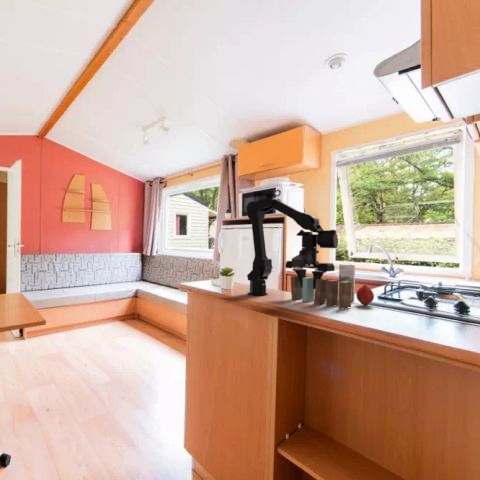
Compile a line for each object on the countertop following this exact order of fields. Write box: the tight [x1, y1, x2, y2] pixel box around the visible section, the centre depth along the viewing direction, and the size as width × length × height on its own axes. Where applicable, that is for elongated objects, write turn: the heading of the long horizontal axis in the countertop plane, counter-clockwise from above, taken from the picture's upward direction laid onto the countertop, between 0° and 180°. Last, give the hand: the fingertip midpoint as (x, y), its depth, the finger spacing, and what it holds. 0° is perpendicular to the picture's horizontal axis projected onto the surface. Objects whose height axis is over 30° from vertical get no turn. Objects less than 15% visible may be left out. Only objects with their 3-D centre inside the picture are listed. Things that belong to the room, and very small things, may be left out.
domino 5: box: [338, 281, 352, 310], centre depth 104 cm, size 2×5×9 cm, turn 133°
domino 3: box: [313, 277, 329, 305], centre depth 111 cm, size 2×5×9 cm, turn 133°
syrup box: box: [338, 262, 356, 302], centre depth 120 cm, size 6×6×14 cm
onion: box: [356, 283, 375, 307], centre depth 108 cm, size 6×6×8 cm
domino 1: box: [290, 275, 303, 301], centre depth 119 cm, size 2×5×9 cm, turn 134°
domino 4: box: [325, 279, 339, 307], centre depth 108 cm, size 2×5×9 cm, turn 134°
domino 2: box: [301, 276, 315, 303], centre depth 115 cm, size 2×5×9 cm, turn 134°
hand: (308, 288), depth 115 cm, fingers open, 5 cm apart
